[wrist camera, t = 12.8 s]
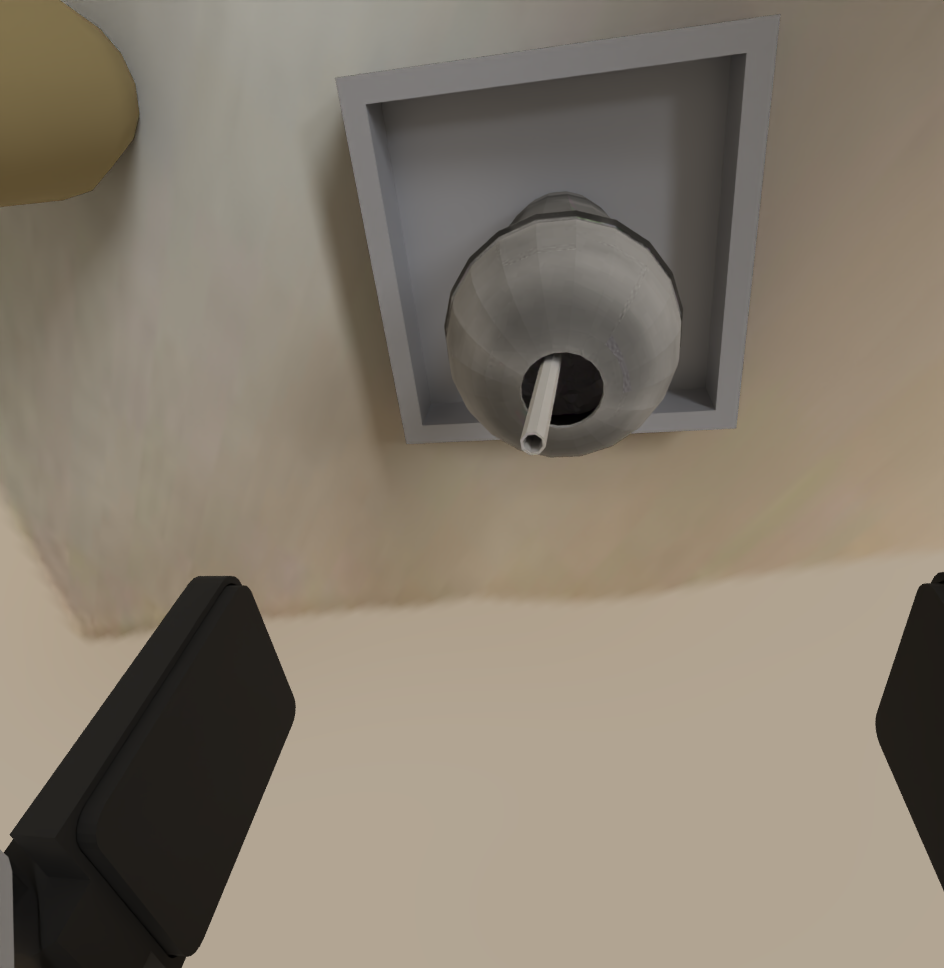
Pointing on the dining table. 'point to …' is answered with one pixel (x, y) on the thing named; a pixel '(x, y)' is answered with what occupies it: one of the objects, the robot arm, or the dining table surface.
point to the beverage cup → (563, 329)
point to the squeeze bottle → (59, 103)
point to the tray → (574, 168)
